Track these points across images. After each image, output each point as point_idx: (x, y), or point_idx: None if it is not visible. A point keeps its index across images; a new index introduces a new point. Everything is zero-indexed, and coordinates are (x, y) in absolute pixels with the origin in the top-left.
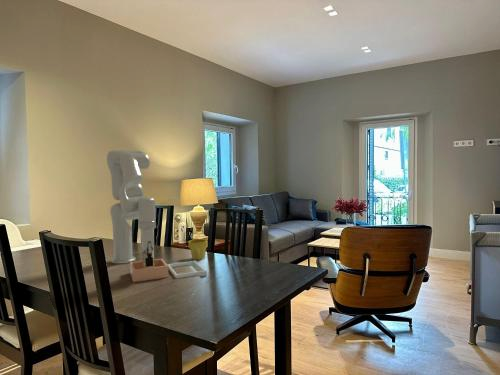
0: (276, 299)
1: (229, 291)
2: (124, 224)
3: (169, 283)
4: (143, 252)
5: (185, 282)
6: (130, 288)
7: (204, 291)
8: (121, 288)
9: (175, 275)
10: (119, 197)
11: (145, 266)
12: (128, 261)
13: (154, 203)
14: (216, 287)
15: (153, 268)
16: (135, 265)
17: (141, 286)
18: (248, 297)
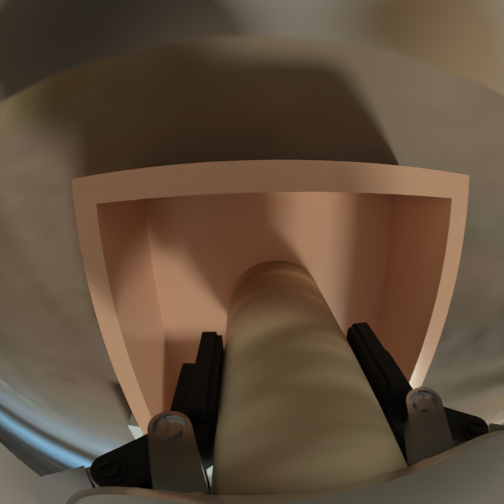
0: (14, 454)
1: (34, 442)
2: None
3: (98, 371)
4: (259, 463)
5: (105, 418)
6: (62, 157)
7: (24, 412)
8: (84, 98)
9: (136, 422)
10: None
11: (234, 325)
12: None
13: None
14: (56, 444)
15: (118, 372)
16: (428, 224)
17: (74, 226)
18: (11, 439)
